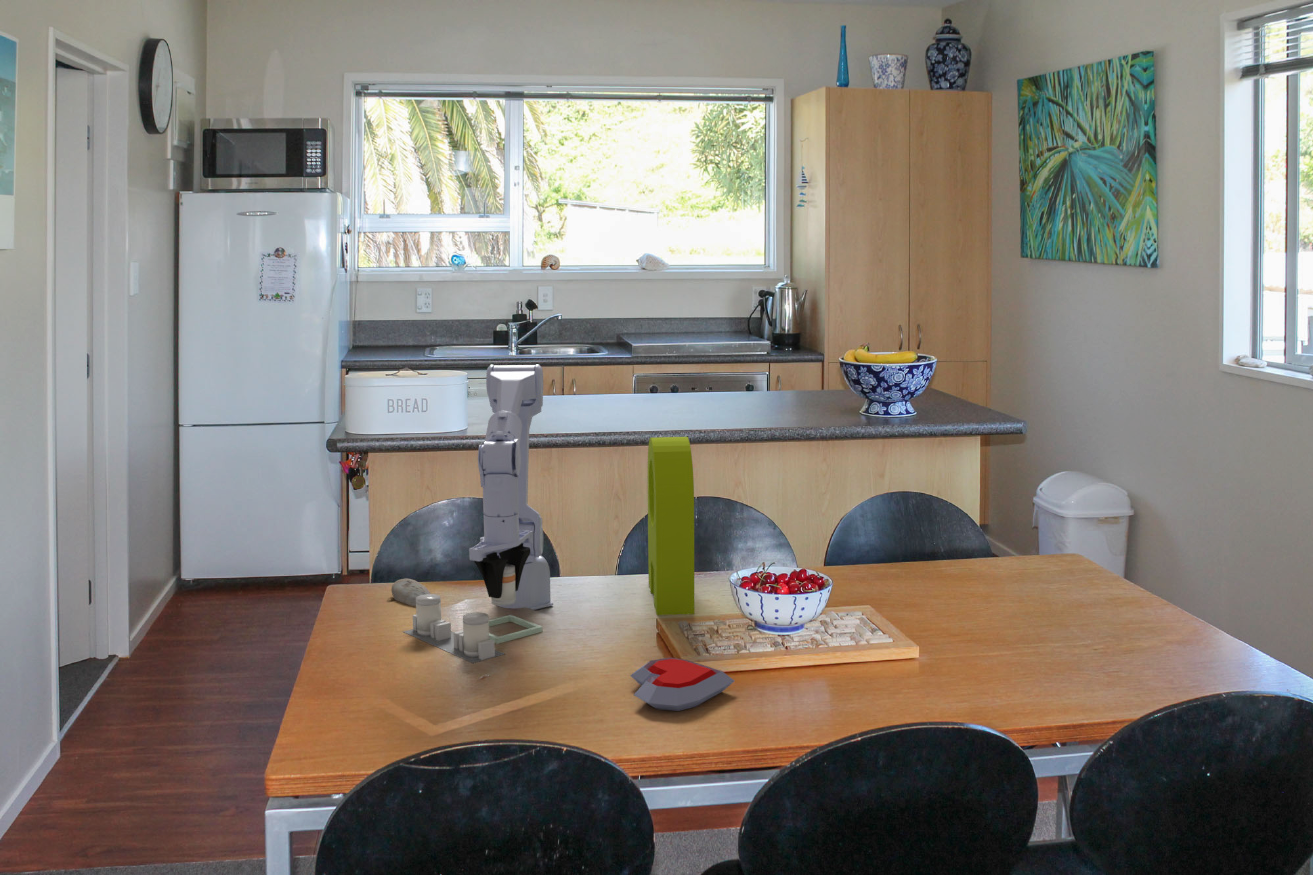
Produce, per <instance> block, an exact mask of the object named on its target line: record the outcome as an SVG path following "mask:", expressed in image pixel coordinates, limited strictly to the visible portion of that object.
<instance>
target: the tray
mask: <svg viewBox="0 0 1313 875" xmlns="http://www.w3.org/2000/svg"><path fill="white" fill-rule="evenodd" d="M509 622H511V623H513V624H516V625H519V626H521V627H524V628H526V629H523V630H519V631H516V632H510V633H507V634H503V635H500V636H499V635H496V634H493V633H490V632H489V640H494V644H498V645H499V644H501V643H506V642H509V641H512V640H517V639H521V638H524V637H527V636H531V635H534V634H538V633H542V632H543V626H542V625H539V624H537V623H535V622H531V621H530V620H526V619H523V618H520V617H518V616H515V615H513V614H509V615H505V616H504V615H503V616H500V617H497V618H492V619H489V628H490V627H493V626H497V625H501V624H504V623H509Z"/></svg>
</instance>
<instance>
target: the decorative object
mask: <svg viewBox="0 0 1313 875" xmlns="http://www.w3.org/2000/svg"><path fill="white" fill-rule="evenodd" d="M648 440H649V441H648V447H647V448H648V449H647V450H648V451H647V541H648V542H647V544H648V546H647V553H648V554H647V555H648V556H647V557H648V558H647V559H648V566H647V567H648V571H647V572H648V586H649V587H648V588H649V590H650V594H653V605H654V610H655V614H656V616H675V615H678V614H682V615H695V612H696V611H695V610H696V609H695V604H696V603H695V486H694V485H695V484H694V483H695V481H694V469H693V468H694V467H693V456H692V448H691V444H690V443H691V442H690V440H689V437H688V436H663V437H654V436H653V437H649V439H648ZM678 616H679V615H678Z"/></svg>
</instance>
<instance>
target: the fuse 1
mask: <svg viewBox="0 0 1313 875" xmlns="http://www.w3.org/2000/svg"><path fill="white" fill-rule="evenodd" d="M441 602H442V600H441V595H439V594H435V593H430V594H425V595H420V596H418V597H416V607H415V609H416V614H417V634H418V635H420V636H431V633H430V623H431V622H435V621H439V620H442V607H441V606H442V605H441V604H442V603H441ZM416 614H415V615H416Z"/></svg>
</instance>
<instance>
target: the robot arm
mask: <svg viewBox="0 0 1313 875" xmlns="http://www.w3.org/2000/svg"><path fill="white" fill-rule="evenodd" d="M543 371H544V370H543V367H542V366H541V364H523V365H522V364H517V365H516V364H511V365H510V364H509V365H507V364H504V365H503V364H502V365H501V364H500V365H499V364H498V365H496V364H495V365H494V364H490V365H489V366H488V367H487V370H486V376H485V379H486V381H485V384H486V385H485V386H486V394H487V396H488V400H489V405H490V407H491V411H492V415H491V416H490V418H489V419H488V422H487V428H486V433H485V439H484V442H483V444H479V445H478V452H477V468H478V471H479V472H478V473H479V477H480V487H481V488H482V503H483V504H482V506H483V536H481V537H479V542H478V543H477V544H476V545H474V546H472V547H469V549H468V552H469V553H468V554H469V555H468V556H469V557H468V558H469V561H473V563H474V564H475V565H476V567H477V568H478V570H479V571H480V574H481V576H482V579H483V581H484V584H485V588H486V592H487V595H488V597H489V598H491V597H492V598H501V595H502V580H503V573H504V568H505V565H506V564H512V565H514V566H515V577H516V580H515V589H516V602H515V603H514V604H511V605H505V606H499V605H497V606H498V607H500V608H505V609H522V608H523V609H524V608H527V609H530V610H532V611H536V610H540V609H544V608H548V607H552V606H554V602H553V601H551V598H552V597H551V572H550V571H551V570H550V566H549V563H548V562H547V560H546V559H545V557H544V556H543V551H544V529H543V518H542V517H541V516H542V515H541V514H540V513H539V512H538V511H537V510H535V509H534V508H533V507H532V506H530V505H529V504H528V498H529V495H528V493H529V457H530V456H529V455H530V454H529V453H530V451H529V450H530V429H531V425H532V421H533V418H534V416H537V415H538V414H540V413H542V408H543V406H544V405H543V404H544V372H543Z"/></svg>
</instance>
